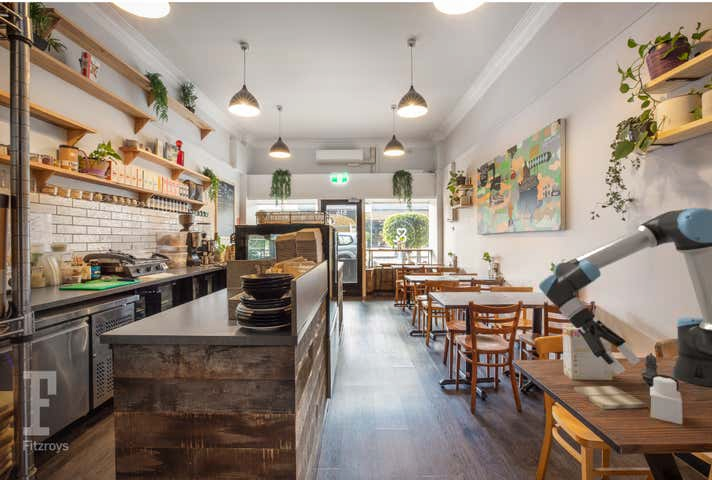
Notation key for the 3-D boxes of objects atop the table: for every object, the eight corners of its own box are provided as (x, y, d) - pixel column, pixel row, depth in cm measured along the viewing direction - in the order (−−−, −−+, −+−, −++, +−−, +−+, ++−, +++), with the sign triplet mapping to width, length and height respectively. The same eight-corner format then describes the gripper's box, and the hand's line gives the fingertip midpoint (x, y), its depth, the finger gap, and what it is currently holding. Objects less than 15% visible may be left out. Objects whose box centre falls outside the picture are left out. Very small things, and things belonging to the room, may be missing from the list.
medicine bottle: (650, 408, 113) (649, 370, 113) (680, 415, 108) (679, 375, 108) (650, 417, 107) (649, 377, 107) (682, 425, 103) (681, 383, 103)
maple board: (612, 389, 128) (612, 385, 128) (645, 407, 114) (645, 403, 114) (574, 390, 127) (574, 387, 127) (602, 409, 113) (602, 405, 113)
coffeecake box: (602, 373, 143) (601, 324, 143) (613, 380, 136) (612, 329, 136) (562, 373, 144) (561, 324, 144) (571, 380, 137) (570, 329, 137)
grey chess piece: (666, 389, 127) (665, 355, 127) (647, 388, 128) (646, 354, 128) (656, 383, 133) (655, 350, 133) (637, 382, 134) (637, 349, 134)
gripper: (584, 314, 136) (633, 365, 124) (553, 324, 121) (604, 383, 109) (600, 302, 132) (652, 353, 120) (569, 311, 117) (625, 370, 105)
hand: (629, 367), depth 114 cm, fingers open, 13 cm apart
